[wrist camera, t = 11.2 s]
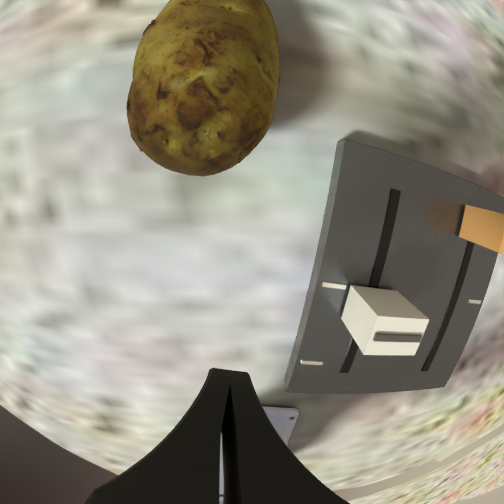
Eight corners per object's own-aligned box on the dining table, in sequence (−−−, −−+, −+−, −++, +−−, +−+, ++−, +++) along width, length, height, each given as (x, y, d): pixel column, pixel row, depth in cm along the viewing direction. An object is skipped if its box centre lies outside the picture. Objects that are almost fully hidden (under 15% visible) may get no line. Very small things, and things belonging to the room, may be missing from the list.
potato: (316, 26, 16) (352, -37, 8) (239, 190, 18) (237, 203, 11) (205, -11, 14) (190, -81, 7) (123, 145, 17) (55, 134, 10)
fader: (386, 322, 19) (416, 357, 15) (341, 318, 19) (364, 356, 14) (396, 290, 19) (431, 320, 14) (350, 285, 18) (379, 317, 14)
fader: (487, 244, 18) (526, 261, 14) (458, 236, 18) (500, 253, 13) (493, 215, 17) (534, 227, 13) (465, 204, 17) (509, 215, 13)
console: (437, 378, 23) (444, 387, 22) (284, 379, 22) (286, 392, 21) (497, 197, 19) (509, 200, 17) (337, 141, 18) (345, 139, 16)
